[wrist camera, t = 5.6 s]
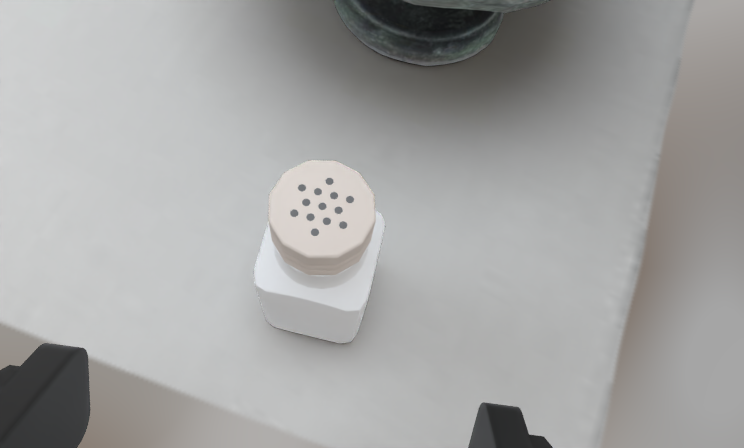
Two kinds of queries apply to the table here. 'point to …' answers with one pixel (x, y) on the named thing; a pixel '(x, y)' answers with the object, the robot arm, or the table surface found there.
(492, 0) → the bowl
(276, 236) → the salt shaker
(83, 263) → the table surface
